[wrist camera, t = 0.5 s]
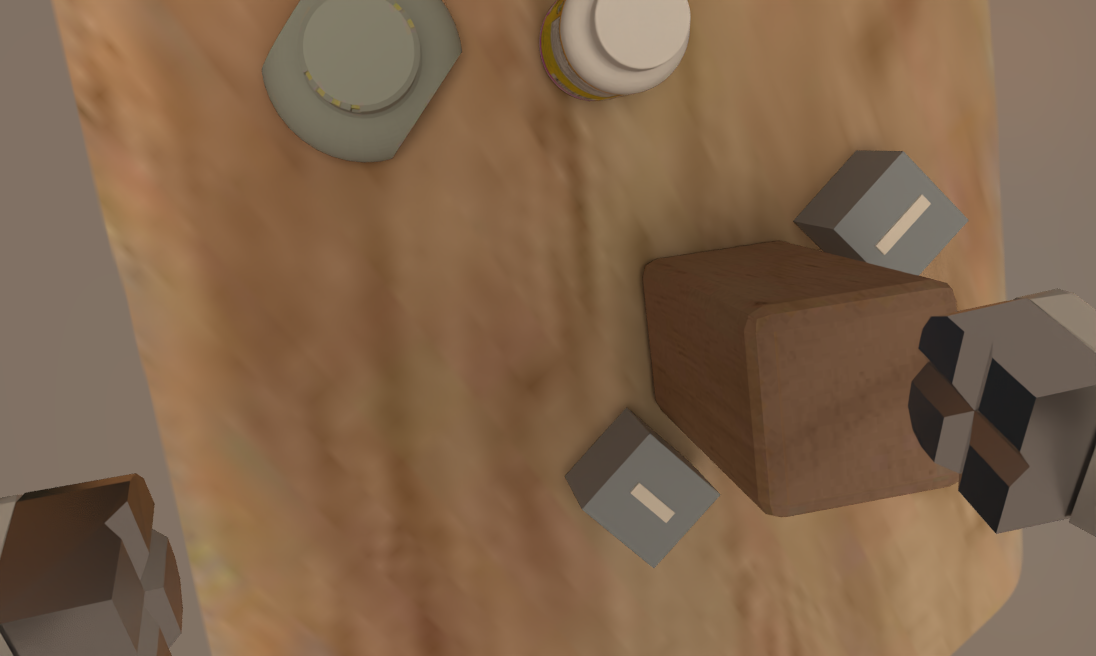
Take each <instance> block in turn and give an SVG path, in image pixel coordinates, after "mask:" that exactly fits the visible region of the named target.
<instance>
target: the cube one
mask: <svg viewBox="0 0 1096 656" xmlns="http://www.w3.org/2000/svg"><path fill="white" fill-rule="evenodd" d="M793 222H794V223H795V224H796V225H797V226H799V227H800V228H801V229H802V230H803V231H804V232H805V233H806V234H807V235H808V236H809V237H810V238H811V239H812V240H813V241H814V242H815V243H816V244H817V245H818V246H819V247H820V248H821V249H822V250H823V251H824V252H826V253H830V254H834V255H838V256H842V257H846V258H850V259H854V260H858V261H862V262H866V263H870V264H874V265H878V266H882V267H886V268H890V269H894V270H898V271H902V272H906V273H910V274H914V275H918V276H919V275H920V274H921V272H922V271H923V270H924V269H925V268H926V267H927V266H928V265H929V264H930V262H931V261H932V260H933V259H934V258H935V257H936V256H937V255H938V254H939V253H940V251H941V250H942V249H943V248H944V247H945V246H946V245H947V244H948V243H949V241H950V240H951V239H952V238H953V237H954V236H955V235H956V234H957V233H958V232H959V230H960V229H961V228H962V227H963V226H964V225H965V224H966V223H967V222H968V219H967V218H966V217H965V216H964V215H963V214H962V213H961V212H960V210H959V209H958V208H957V207H956V206H955V205H954V204H953V203H952V202H951V201H950V200H949V199H948V198H947V197H946V196H945V195H944V194H943V193H942V191H941V190H940V189H939V188H938V187H937V186H936V185H935V184H934V183H933V182H932V181H931V180H930V179H929V178H928V177H927V176H926V175H925V174H924V173H923V171H922V170H921V169H920V168H919V167H918V166H917V165H916V164H915V163H914V162H913V161H912V160H911V159H910V158H909V157H908V156H907V155H906V154H905V152H904V151H856V152H855V153H854V154H853V155H852V156H851V157H850V158H849V159H848V160H847V162H846V163H845V164H844V165H843V166H842V167H841V168H840V169H839V171H838V172H837V173H836V174H835V175H834V176H833V177H832V178H831V179H830V181H829V182H828V183H827V184H826V185H825V186H824V187H823V188H822V189H821V191H820V192H819V193H818V194H817V195H816V196H815V197H814V198H813V200H812V201H811V202H810V203H809V204H808V205H807V206H806V207H805V208H804V210H803V211H802V212H801V213H800V214H799V215H798V216H797V217H796V219H795V220H794V221H793Z"/></svg>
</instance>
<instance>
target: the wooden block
mask: <svg viewBox="0 0 1096 656" xmlns="http://www.w3.org/2000/svg"><path fill="white" fill-rule="evenodd" d="M643 286H644V295H645V305H646V314H647V323H648V333H649V342H650V351H651V361H652V370H653V379H654V389H655V398H656V402H657V404H658V405H659V407H660V409H661V410H662V411H663V412H664V413H665V414H666V415H667V416H668V417H669V418H670V419H671V420H672V421H673V422H674V423H675V424H676V425H677V426H678V427H679V428H680V429H681V430H682V431H683V432H684V433H685V434H686V435H687V436H688V437H689V438H690V439H691V440H692V441H693V442H694V443H695V444H696V445H697V446H698V447H699V448H700V449H701V450H702V451H703V452H704V453H705V454H706V455H707V456H708V457H709V458H710V459H711V460H712V461H713V462H714V463H715V464H716V465H717V466H718V467H719V468H720V469H721V470H722V471H723V472H724V473H725V474H726V475H727V476H728V477H729V478H730V479H731V480H732V481H733V482H734V483H735V484H736V485H737V486H738V487H739V488H740V489H741V490H742V491H743V492H744V493H745V494H746V495H747V496H748V497H749V498H750V499H751V500H752V501H753V502H754V503H755V504H756V505H757V506H758V507H759V508H760V509H761V510H762V511H763V512H764V513H765V514H769V515H773V516H778V517H788V516H794V515H799V514H804V513H810V512H815V511H820V510H826V509H831V508H837V507H842V506H847V505H853V504H858V503H863V502H869V501H874V500H879V499H885V498H890V497H895V496H901V495H906V494H912V493H917V492H922V491H928V490H933V489H938V488H944V487H949V486H951V485H953V484H955V483H957V482H958V481H959V473H957V472H954V471H952V470H950V469H947V468H945V467H943V466H941V465H938V464H936V463H934V462H933V461H932V459H931V458H930V457H929V456H928V455H927V453H926V452H925V451H924V450H923V449H922V447H921V446H920V444H919V442H918V440H917V438H916V436H915V434H914V432H913V430H912V425H911V420H910V415H909V410H908V401H909V394H910V388H911V381H912V380H913V379H914V378H915V377H916V375H917V374H918V373H919V372H920V371H921V369H922V368H923V367H924V366H925V365H926V363H927V361H926V359H925V358H924V356H923V355H922V353H921V352H920V350H919V349H918V347H919V342H920V337H921V333H922V329H923V327H924V326H925V324H926V323H927V321H928V320H929V318H930V317H931V316H935V315H940V314H945V313H950V312H955V311H957V301H956V298H955V296H954V293H953V290H952V288H951V287H950V286H949V285H948V284H947V283H944V282H941V281H937V280H933V279H930V278H926V277H922V276H918V275H914V274H910V273H906V272H902V271H898V270H894V269H890V268H886V267H882V266H878V265H874V264H870V263H866V262H862V261H858V260H854V259H850V258H846V257H842V256H838V255H834V254H830V253H826V252H822V251H818V250H814V249H810V248H806V247H802V246H798V245H794V244H790V243H786V242H782V241H774V242H767V243H760V244H754V245H747V246H740V247H733V248H727V249H720V250H713V251H706V252H700V253H693V254H686V255H680V256H673V257H666V258H659V259H656V260H654V261H652V262H650V263H649V264H647V265H646V267H645V270H644V274H643Z"/></svg>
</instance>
